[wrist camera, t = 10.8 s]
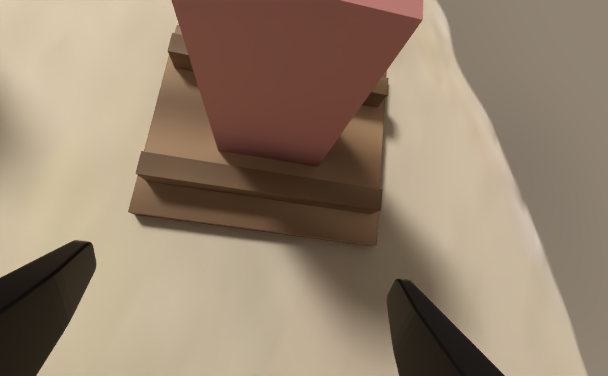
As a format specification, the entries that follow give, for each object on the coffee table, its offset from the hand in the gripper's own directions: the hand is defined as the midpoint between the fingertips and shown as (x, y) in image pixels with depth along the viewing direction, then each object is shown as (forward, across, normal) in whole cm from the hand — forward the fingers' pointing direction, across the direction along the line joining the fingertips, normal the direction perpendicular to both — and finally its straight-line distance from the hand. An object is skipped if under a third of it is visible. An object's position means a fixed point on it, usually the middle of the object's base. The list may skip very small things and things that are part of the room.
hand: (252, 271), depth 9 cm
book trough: (+12, 0, 0) cm, 12 cm away
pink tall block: (+11, 0, 0) cm, 11 cm away
